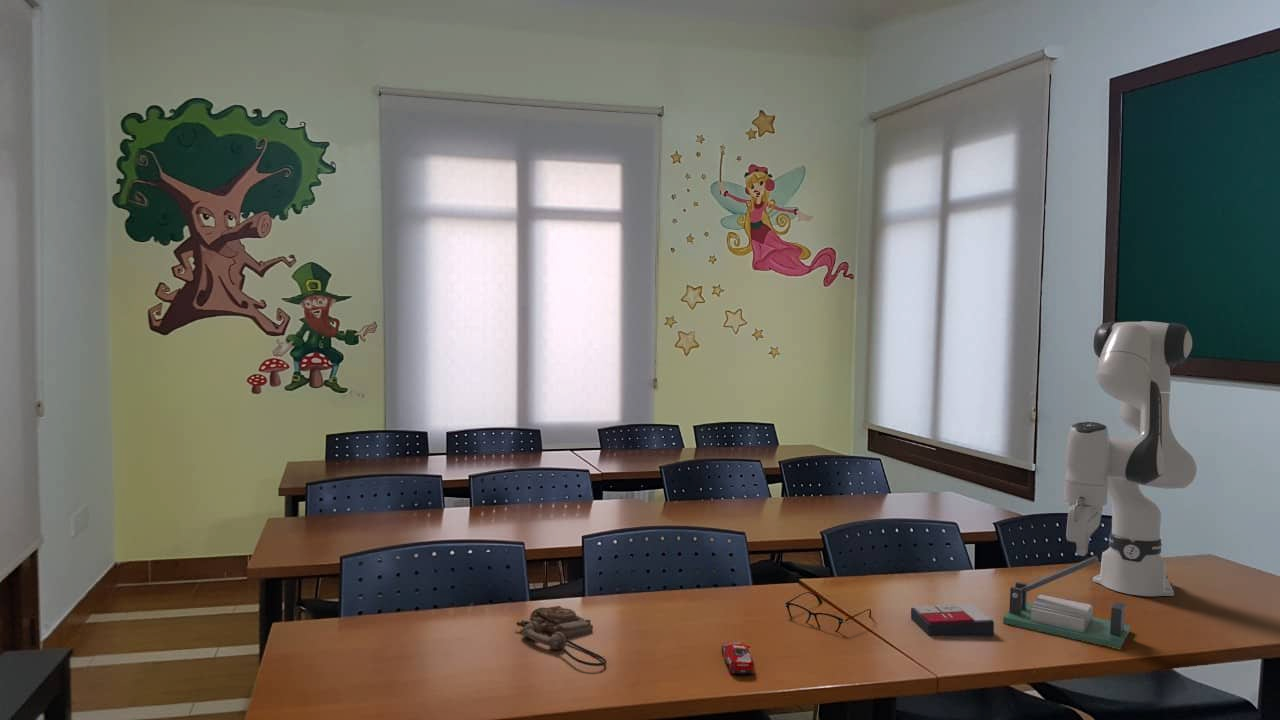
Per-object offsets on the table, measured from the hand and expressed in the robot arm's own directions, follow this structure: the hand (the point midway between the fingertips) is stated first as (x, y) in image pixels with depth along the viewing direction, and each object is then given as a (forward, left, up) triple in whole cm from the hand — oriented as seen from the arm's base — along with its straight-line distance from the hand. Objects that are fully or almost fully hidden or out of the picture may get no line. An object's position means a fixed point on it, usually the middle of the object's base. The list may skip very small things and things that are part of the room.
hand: (1081, 554), depth 193 cm
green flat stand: (0, -3, -18) cm, 18 cm away
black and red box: (+17, -23, -18) cm, 34 cm away
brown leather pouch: (+80, -86, -18) cm, 119 cm away
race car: (+67, -51, -18) cm, 86 cm away
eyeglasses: (+30, -48, -18) cm, 59 cm away
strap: (0, -5, -7) cm, 8 cm away
